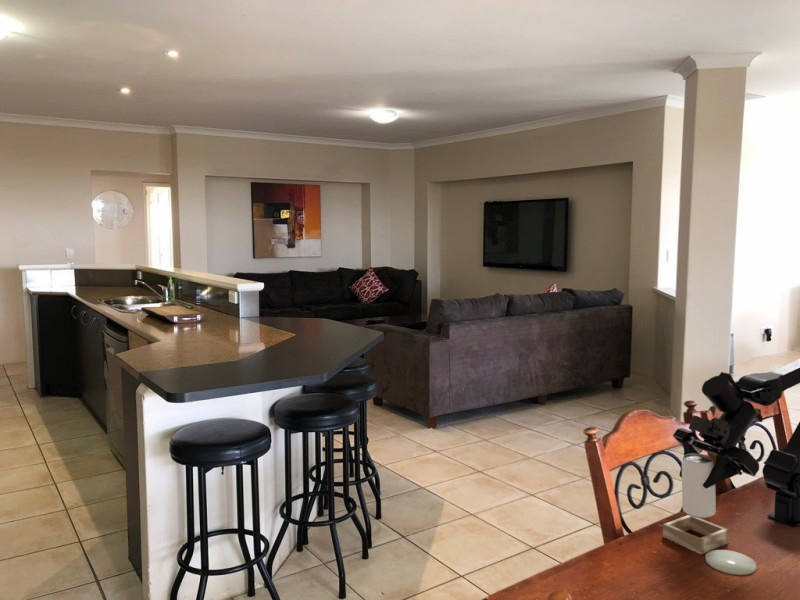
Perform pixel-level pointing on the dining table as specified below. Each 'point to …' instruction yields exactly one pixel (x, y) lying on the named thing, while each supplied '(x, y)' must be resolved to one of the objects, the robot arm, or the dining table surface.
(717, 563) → the pale green flat disc
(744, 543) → the dining table surface
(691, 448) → the robot arm
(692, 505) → the can
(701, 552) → the holder
